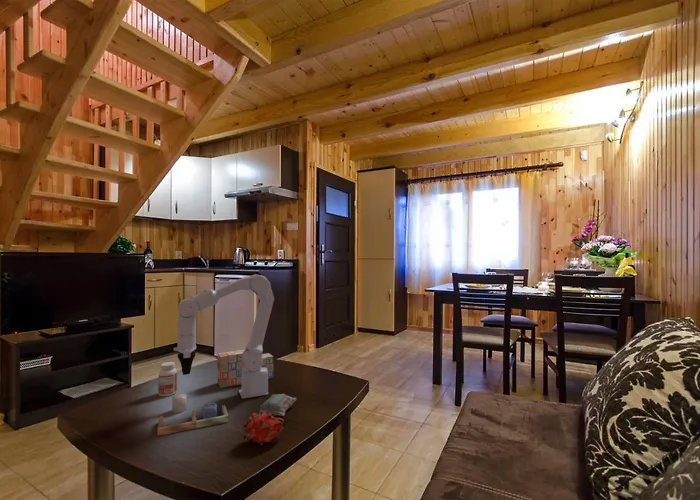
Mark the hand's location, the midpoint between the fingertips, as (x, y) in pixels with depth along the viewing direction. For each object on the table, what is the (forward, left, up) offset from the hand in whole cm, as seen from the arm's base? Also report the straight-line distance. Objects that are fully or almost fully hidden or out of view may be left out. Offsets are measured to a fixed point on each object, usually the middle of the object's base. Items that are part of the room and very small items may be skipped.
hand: (186, 374), depth 119 cm
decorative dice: (-7, +15, -11) cm, 19 cm away
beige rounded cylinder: (+2, +4, -10) cm, 11 cm away
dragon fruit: (-19, +36, -11) cm, 42 cm away
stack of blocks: (-23, -15, -11) cm, 29 cm away
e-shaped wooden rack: (-2, +15, -10) cm, 18 cm away
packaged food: (-27, +20, -11) cm, 35 cm away
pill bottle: (+6, -14, -11) cm, 19 cm away
